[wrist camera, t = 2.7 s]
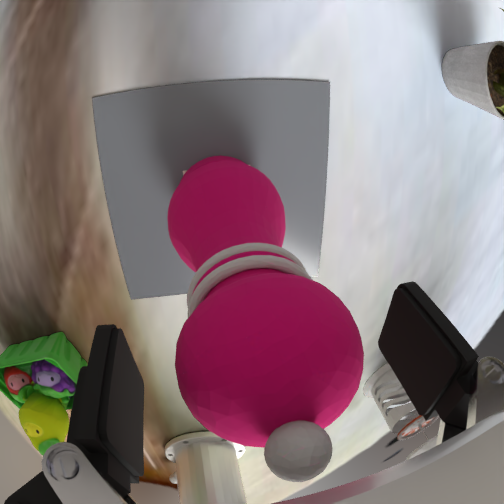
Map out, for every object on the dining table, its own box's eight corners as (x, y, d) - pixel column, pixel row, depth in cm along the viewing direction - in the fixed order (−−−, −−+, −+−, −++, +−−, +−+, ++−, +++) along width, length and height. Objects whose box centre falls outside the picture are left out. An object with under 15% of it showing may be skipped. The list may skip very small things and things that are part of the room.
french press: (354, 383, 40) (428, 532, 19) (422, 337, 39) (515, 473, 17) (371, 404, 45) (432, 526, 24) (429, 365, 44) (503, 479, 22)
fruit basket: (64, 318, 26) (34, 415, 16) (108, 374, 31) (99, 464, 21) (-4, 338, 26) (-37, 416, 16) (39, 387, 30) (22, 462, 21)
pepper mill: (203, 255, 25) (249, 522, 8) (151, 182, 22) (89, 477, 5) (282, 209, 25) (435, 443, 8) (238, 129, 21) (441, 332, 4)
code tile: (329, 82, 20) (330, 82, 20) (317, 275, 29) (318, 276, 29) (92, 97, 18) (92, 97, 18) (131, 298, 26) (130, 299, 26)
